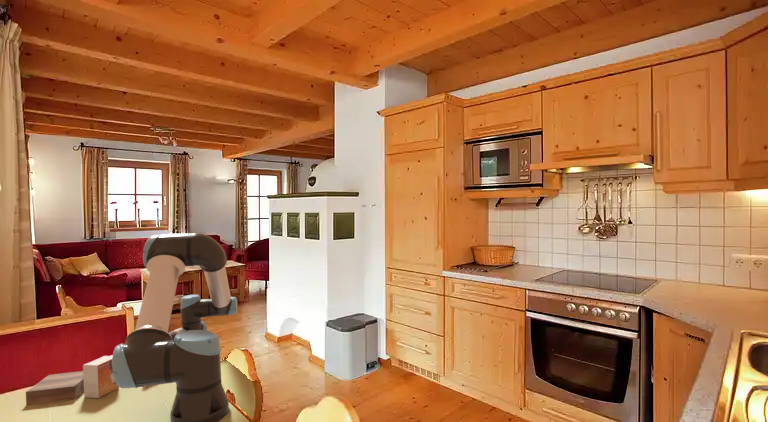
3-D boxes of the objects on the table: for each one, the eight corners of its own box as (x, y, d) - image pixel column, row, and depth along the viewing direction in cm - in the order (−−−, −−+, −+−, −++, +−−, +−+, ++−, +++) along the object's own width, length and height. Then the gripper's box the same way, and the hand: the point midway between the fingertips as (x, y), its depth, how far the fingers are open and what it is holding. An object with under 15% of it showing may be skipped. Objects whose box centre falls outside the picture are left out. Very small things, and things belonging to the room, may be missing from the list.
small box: (98, 398, 128) (96, 365, 128) (83, 397, 129) (82, 364, 129) (119, 387, 136) (118, 356, 135) (105, 386, 137) (104, 355, 137)
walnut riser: (75, 398, 128) (74, 386, 128) (26, 404, 125) (25, 391, 125) (93, 381, 141) (93, 369, 141) (49, 386, 138) (49, 374, 138)
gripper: (200, 352, 158) (156, 375, 138) (148, 347, 165) (99, 369, 145) (199, 333, 158) (155, 353, 138) (148, 329, 165) (98, 348, 145)
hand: (126, 361), depth 141 cm, fingers open, 13 cm apart
